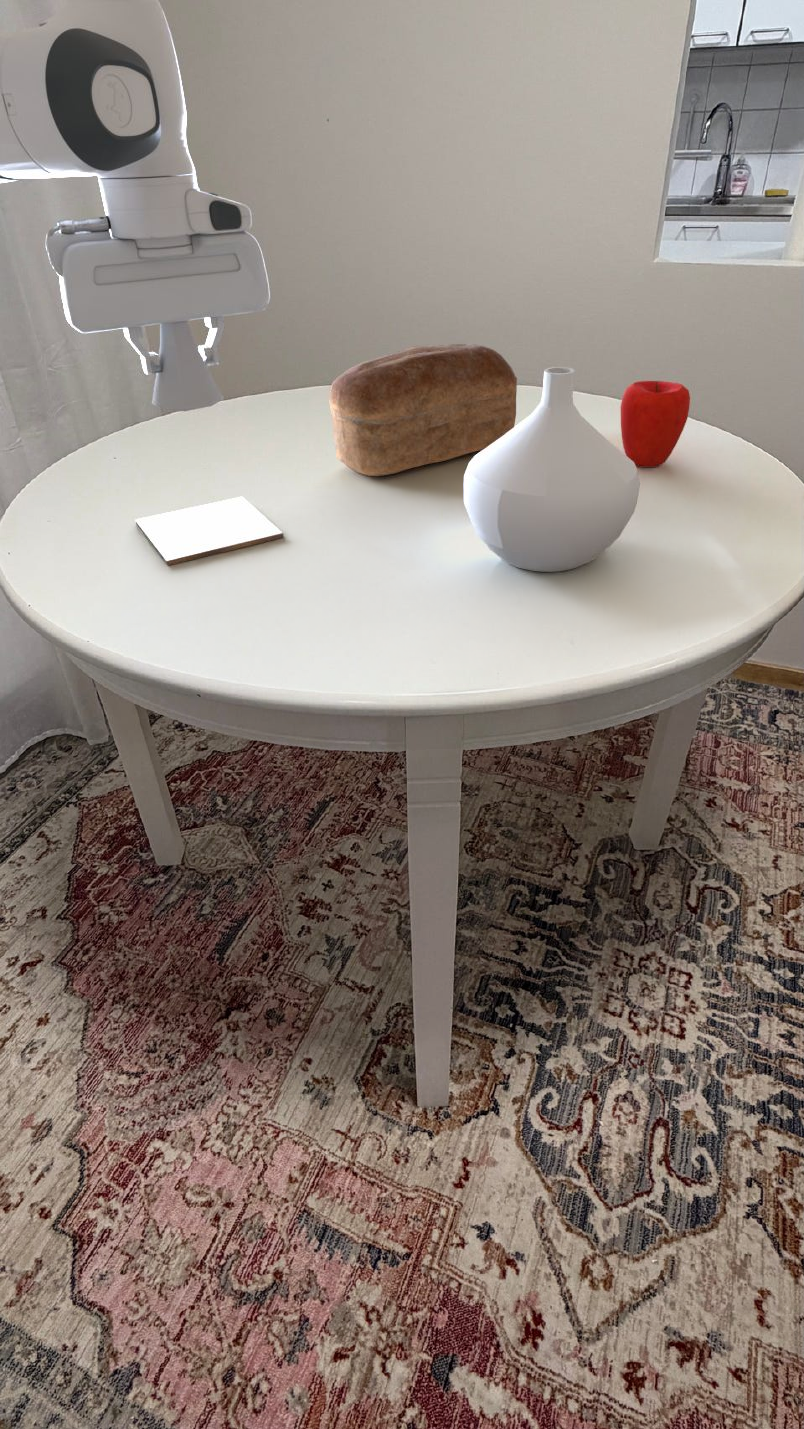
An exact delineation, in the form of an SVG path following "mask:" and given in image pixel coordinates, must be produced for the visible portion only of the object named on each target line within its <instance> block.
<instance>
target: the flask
mask: <svg viewBox="0 0 804 1429" xmlns="http://www.w3.org/2000/svg"><path fill="white" fill-rule="evenodd" d="M158 355H159V360H160V363H159V365H160V366H161V372H160V373H155V379H154V387H153V393H152V398H151V405H153V406H155V407H156V408H158V409H160V410H161V411H173V412H175V411H176V412H190V411H194V410H199V409H204V408H209V407H213V406H215V405H217V404H218V403H220V402H221V401H223V400H225V397H224V396H223V393H222V392H221V389H220V388H219V386H218V384H217V382H216V381H215V378H214V377H213V375H212V373H211V371H210V370H209V368H208V366H206V364H205V362H204V360H203V358H202V356H201V354H200V352H199V347H198V345H197V343H196V342H195V339H194V336H193V333H192V330H191V328H190V324H189V320H187V321H179V322H171V323H163V324H159V351H158Z"/></svg>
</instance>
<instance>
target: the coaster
mask: <svg viewBox="0 0 804 1429" xmlns="http://www.w3.org/2000/svg"><path fill="white" fill-rule="evenodd" d="M135 524H136V526H137V527H138V528H139V529H140V531H141V532H142V533H143V535H144V536H145V537H146V539H147V540H148V541H149V543H150V544H151V546H152V547H153V548H154V550H155V551H156V552H157V553H158V555H159V556H160V558H161V559H162V560H163V561H164V562H165V564H166V565H167V566H172V565H176V564H180V563H184V562H188V561H192V560H196V559H201V558H205V557H209V556H213V555H218V554H221V553H225V552H230V551H233V550H234V551H235V550H237V549H242V548H247V547H250V546H255V545H258V544H263V543H267V542H272V541H275V540H279V539H284V536H285V535H284V532H282V530H280V529H279V528H278V527H277V526H276V525H275V524H273V522H272V521H270V520H269V519H268V518H267V517H266V516H265V515H264V514H262V513H261V512H260V511H259V510H258V509H257V508H256V507H255V506H253V505H252V504H251V503H250V502H249V500H247V499H245V497H243V496H239V497H234V498H230V499H225V500H222V501H215V502H212V503H208V504H203V505H202V504H201V505H198V506H193V507H188V508H183V509H179V510H175V511H171V512H165V513H161V514H156V515H151V516H147V517H142V518H138V519H135Z"/></svg>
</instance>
